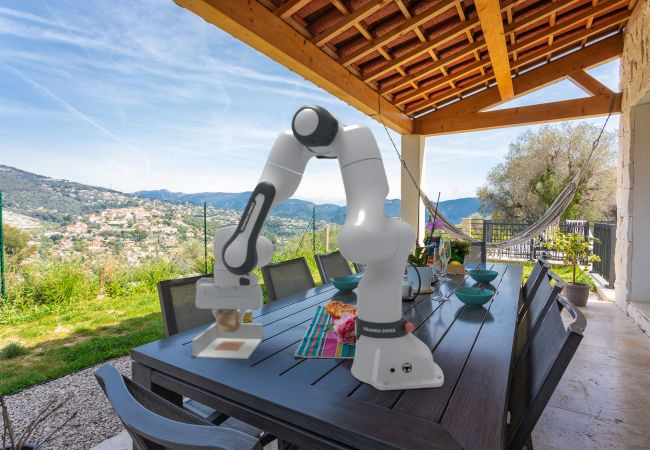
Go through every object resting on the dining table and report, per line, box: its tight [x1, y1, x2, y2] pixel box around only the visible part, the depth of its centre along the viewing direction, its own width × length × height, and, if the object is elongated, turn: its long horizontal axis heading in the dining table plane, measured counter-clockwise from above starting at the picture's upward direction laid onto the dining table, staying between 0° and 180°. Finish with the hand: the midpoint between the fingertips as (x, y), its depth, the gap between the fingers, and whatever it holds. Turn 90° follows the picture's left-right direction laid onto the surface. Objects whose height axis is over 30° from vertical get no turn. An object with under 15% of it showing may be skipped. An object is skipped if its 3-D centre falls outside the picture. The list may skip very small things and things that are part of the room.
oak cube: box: [218, 310, 240, 332], centre depth 107 cm, size 5×5×5 cm
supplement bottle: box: [236, 309, 253, 323], centre depth 124 cm, size 5×5×10 cm
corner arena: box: [191, 322, 264, 360], centre depth 107 cm, size 16×16×5 cm
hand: (229, 323), depth 107 cm, fingers closed on oak cube, 5 cm apart
